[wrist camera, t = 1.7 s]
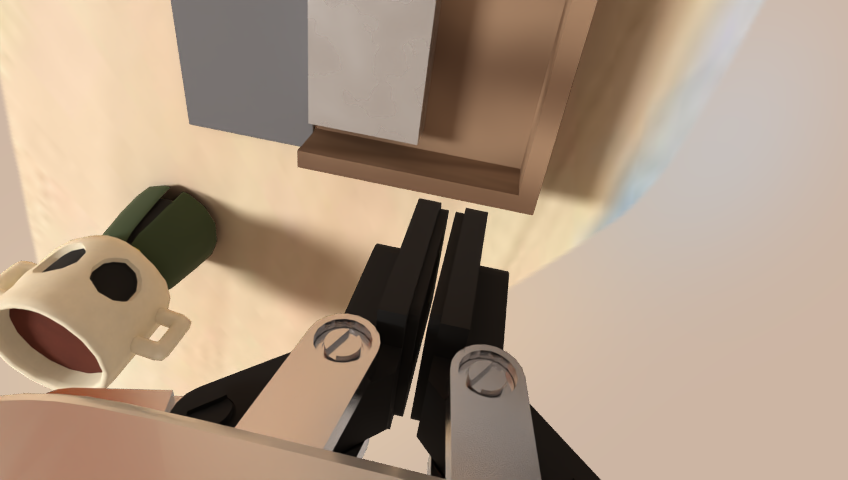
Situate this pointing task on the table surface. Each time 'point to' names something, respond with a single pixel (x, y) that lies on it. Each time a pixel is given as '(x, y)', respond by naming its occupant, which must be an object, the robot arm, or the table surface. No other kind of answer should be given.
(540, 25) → the walnut box
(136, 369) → the table surface
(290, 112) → the gray mat
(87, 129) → the table surface
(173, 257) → the character mug
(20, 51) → the table surface
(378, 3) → the concrete block
